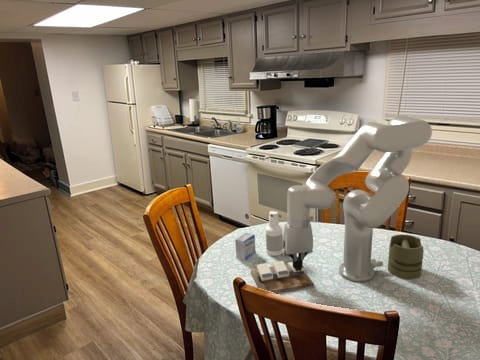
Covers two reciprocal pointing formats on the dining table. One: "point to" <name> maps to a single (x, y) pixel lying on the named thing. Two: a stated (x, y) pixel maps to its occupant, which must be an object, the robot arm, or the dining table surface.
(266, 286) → the switch board
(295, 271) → the rocker
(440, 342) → the dining table surface
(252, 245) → the medicine box
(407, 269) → the piston
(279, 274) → the rocker middle
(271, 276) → the block
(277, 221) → the spray bottle
